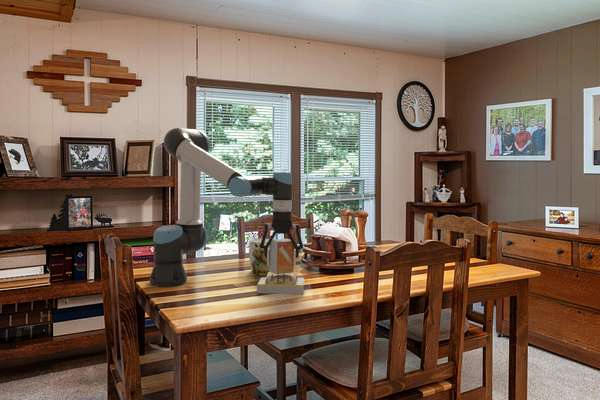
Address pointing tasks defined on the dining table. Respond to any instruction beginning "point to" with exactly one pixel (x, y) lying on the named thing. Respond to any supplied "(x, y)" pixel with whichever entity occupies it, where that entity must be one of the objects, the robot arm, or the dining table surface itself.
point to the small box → (281, 256)
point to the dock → (281, 287)
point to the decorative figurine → (259, 262)
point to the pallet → (281, 278)
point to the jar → (252, 246)
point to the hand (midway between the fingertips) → (281, 265)
